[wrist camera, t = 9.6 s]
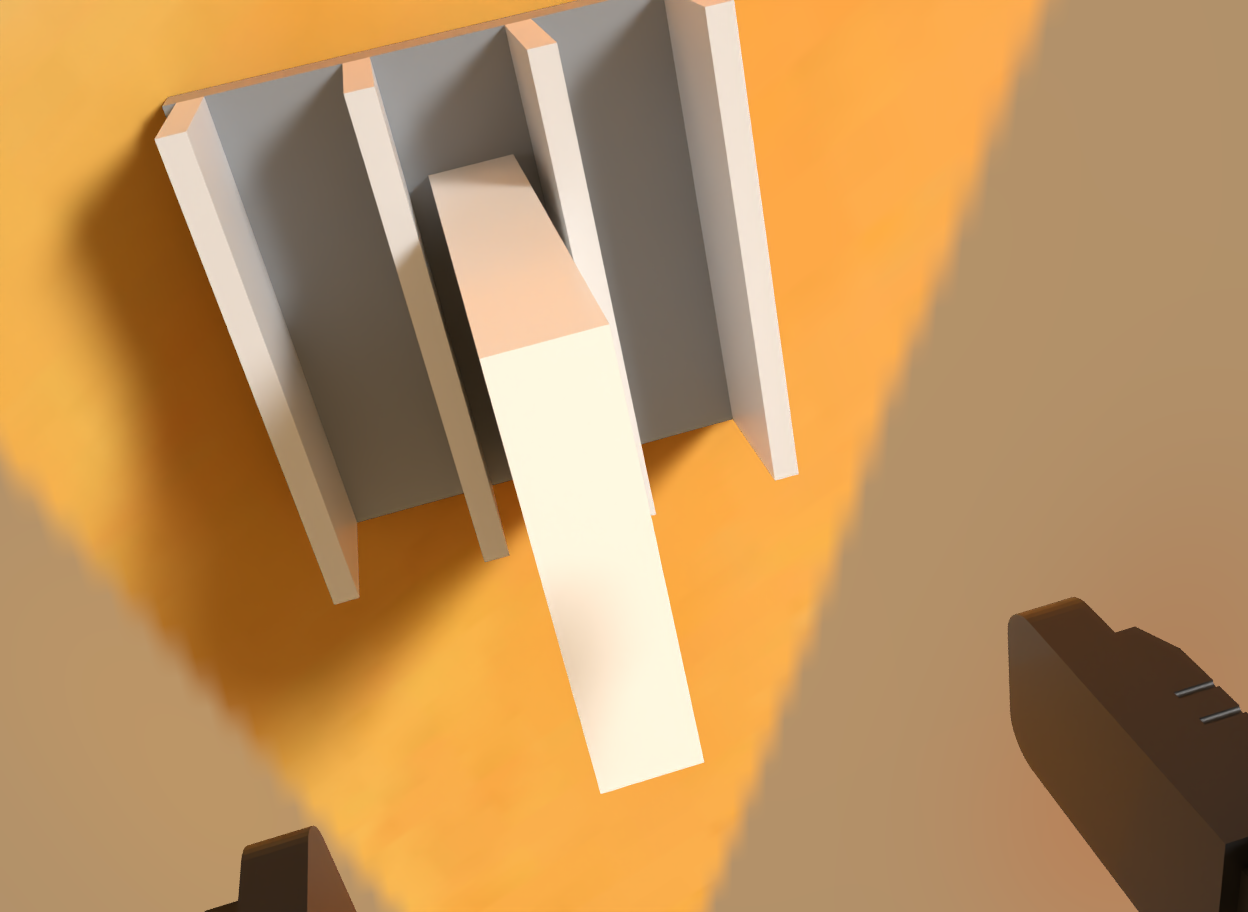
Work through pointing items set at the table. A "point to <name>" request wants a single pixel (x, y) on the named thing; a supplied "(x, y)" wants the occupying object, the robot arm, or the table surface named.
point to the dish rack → (420, 259)
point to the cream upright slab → (572, 470)
